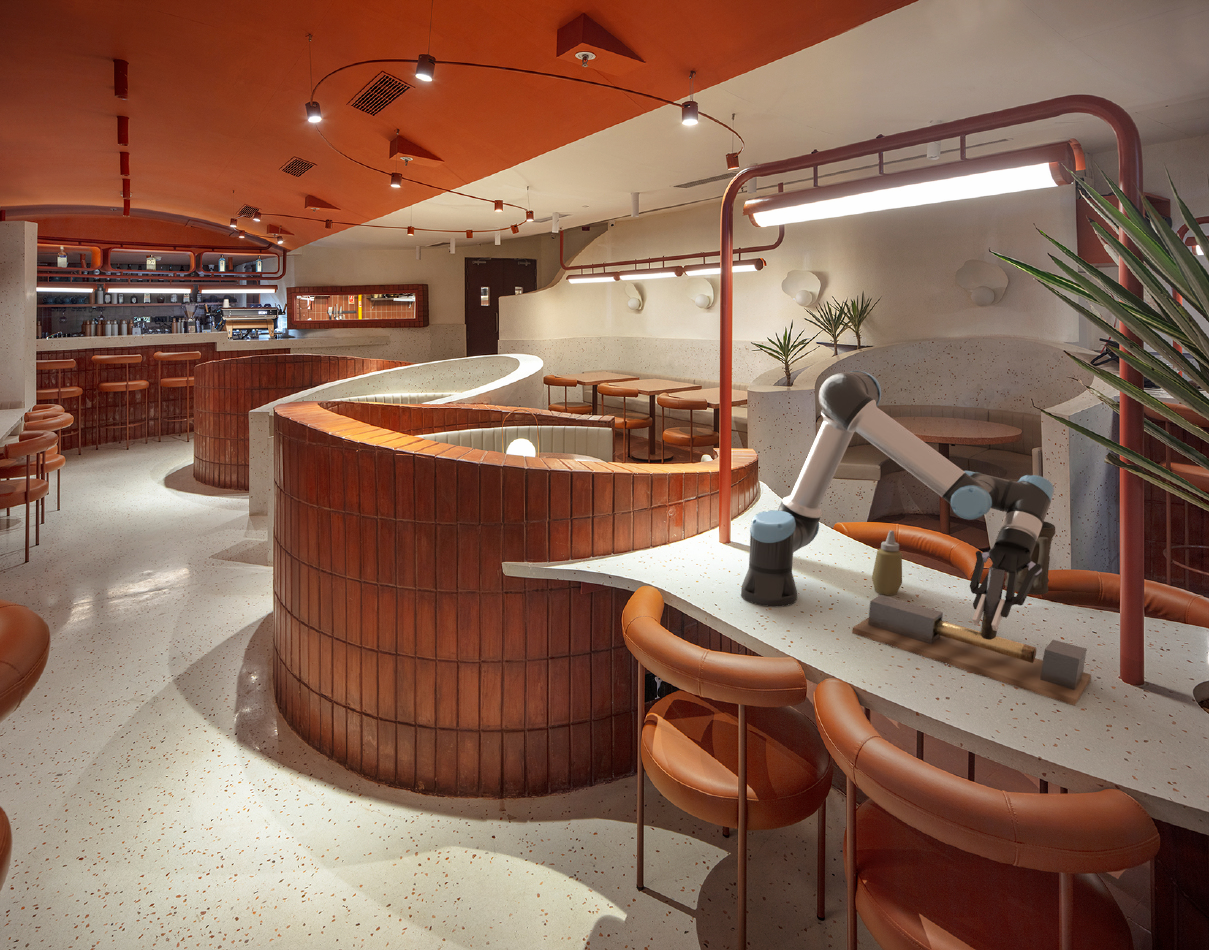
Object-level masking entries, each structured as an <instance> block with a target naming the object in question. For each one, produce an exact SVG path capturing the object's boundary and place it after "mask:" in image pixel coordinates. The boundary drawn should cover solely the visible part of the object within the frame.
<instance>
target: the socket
mask: <svg viewBox="0 0 1209 950" xmlns="http://www.w3.org/2000/svg"><path fill="white" fill-rule="evenodd" d="M1087 649H1088V648H1085V647H1082V646H1078V645H1074V644H1070V643H1067V642H1064V641H1061V640H1060V641H1059V640H1056V639H1051V641H1050V642H1049V643H1048V644H1047V645H1046V647H1045V648H1044V651H1043V652H1044V653H1043V658H1042V660H1043V664H1042V671H1041V678H1040V680H1043V681H1046V682H1049V683H1053V684H1056V685H1059V686H1062V687H1065V688H1069V689H1072V690H1075V689H1076V687H1077V686H1078V684H1079V683H1080V681H1081V679H1082V675H1083V672H1084V668H1085V662H1086V656H1087Z"/></svg>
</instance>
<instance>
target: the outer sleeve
mask: <svg viewBox="0 0 1209 950" xmlns="http://www.w3.org/2000/svg"><path fill="white" fill-rule="evenodd" d="M943 616H944V612H943V611H940V610H937V609H933V608H928V607H925V606H921V605H918V604H914V603H911V602H907V601H904V600H900V599H896V598H893V597H889V596H885V595H883V594H879V595H878V596H876V597H874V598H873V599H871V600H870V601H869V612H868V617H869V621H868V625H870V626H873V627H876V628H880V629H883V630H886V631H889V632H892V633H896V634H899V635H902V636H905V637H908V638H912V639H915V640H918V641H921V642H925V643H928V644H933V643H934V642H935V641H936V640H937V639H939V638H940V635H937V634H934V626H935V621H936V620H941V621H943Z"/></svg>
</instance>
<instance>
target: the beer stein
mask: <svg viewBox="0 0 1209 950" xmlns="http://www.w3.org/2000/svg"><path fill="white" fill-rule="evenodd" d="M1055 535H1056V526H1055V524H1053V523H1050V522H1049V521H1045V520H1044V522H1043V524H1042V528H1041V531H1040V533H1039V536H1038V539H1037V541H1036V544H1035V547H1034V550H1033V553H1032V556H1031V560H1032V562H1033V563H1035V564H1040V565H1041V568H1042V573H1041V574H1040V575H1039V576H1038V577H1037V578H1036V579H1035V581H1034V583H1033V585H1032V587H1031V589H1030V591H1029V593H1028V595H1033V596H1038V595H1039V596H1040V595H1045V594H1048V593H1049V586H1048V585H1049V582H1050V580H1049V569H1050V561H1051V559H1050V558H1051V556H1050V554H1051V553H1050V552H1051V548H1052V547H1051V545H1052V541H1053V537H1054V536H1055ZM1028 568H1029V566H1028V567H1027V568H1025V569H1023V570H1021V571H1020V572H1018V577H1017V581H1016V588H1015V592H1017V593H1018V591H1019V589H1020V587H1021V585H1022V583H1023V581H1024V579H1025V577H1026V575H1027V573H1028V571H1029V570H1028ZM1008 578H1009V573H1008V572H1006V579H1005V581H1004V586H1005V587H1006V588H1007V585H1008Z"/></svg>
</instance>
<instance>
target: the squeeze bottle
mask: <svg viewBox="0 0 1209 950" xmlns="http://www.w3.org/2000/svg"><path fill="white" fill-rule="evenodd" d="M875 556H876V557H875V560H874V566H873V570H872V575H871V581H872V585H873V588H874V591H875V592H876V593H878V594H879V595H884V596H885V595H887V596H893V595H897V594H898V592H899V590H900V588H901V585H902V584H903V554H902V552H901V551H900V544H899V543H898V542H896V539H895V531H894V530H888V533H887V537H886V539H885V541H882V542H881V544H880V549H877V551H876V555H875Z"/></svg>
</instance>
